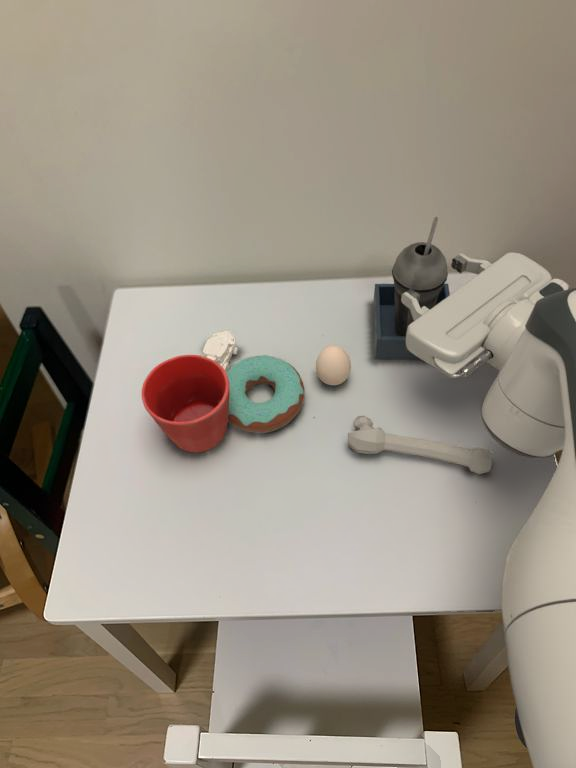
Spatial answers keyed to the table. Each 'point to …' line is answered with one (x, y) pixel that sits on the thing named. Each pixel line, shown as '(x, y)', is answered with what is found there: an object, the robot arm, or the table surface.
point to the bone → (415, 447)
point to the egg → (333, 365)
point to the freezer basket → (391, 324)
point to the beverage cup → (418, 278)
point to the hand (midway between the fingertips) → (430, 276)
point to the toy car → (220, 349)
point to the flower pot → (189, 401)
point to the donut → (272, 411)
